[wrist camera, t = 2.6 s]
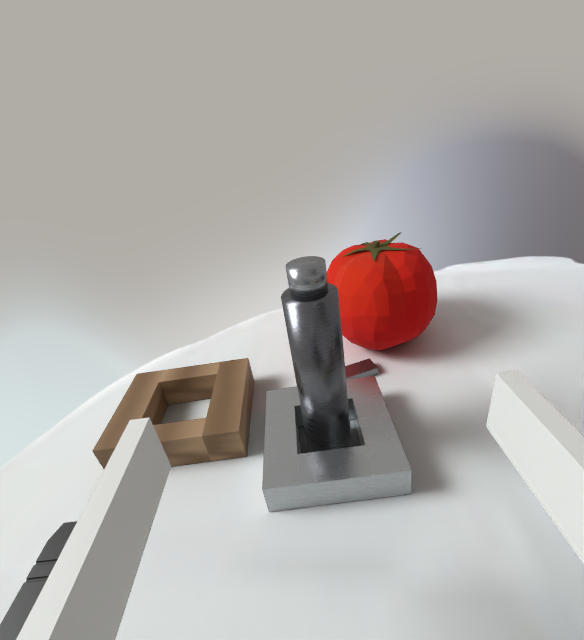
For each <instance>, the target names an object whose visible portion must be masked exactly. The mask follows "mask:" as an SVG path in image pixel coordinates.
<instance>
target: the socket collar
mask: <svg viewBox="0 0 584 640" xmlns="http://www.w3.org/2000/svg"><path fill="white" fill-rule="evenodd" d="M346 385H347V396H348V407H349V418H350V420H353V419H354V421H355V425H356V428H357V432H358V436H359V440H360V443H361V446H355V447H348V448H340V449H332V450H325V451H317V452H310V453H302V454H300V443H299V428H298V427H301V426H304V422H303V416H302V410H301V405H300V399H299V394H298V388H297V387H290V388H283V389H275V390H268V391H266V415H265V439H264V463H263V486H262V490H263V494H264V497H265V500H266V504H267V507H268V510H269V512H272V511H280V510H288V509H296V508H304V507H312V506H320V505H328V504H336V503H344V502H352V501H360V500H368V499H376V498H384V497H391V496H399V495H407V494H411V481H412V470H411V467H410V465H409V462H408V460H407V457H406V454H405V452H404V449H403V447H402V444H401V442H400V439H399V437H398V434H397V432H396V429H395V427H394V424H393V422H392V419H391V416H390V414H389V411H388V409H387V406H386V404H385V401H384V399H383V396H382V394H381V391H380V389H379V386H378V383H377V381H376V378H375V376H369V377H362V378H354V379H347V380H346Z"/></svg>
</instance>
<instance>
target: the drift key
mask: <svg viewBox="0 0 584 640" xmlns="http://www.w3.org/2000/svg"><path fill="white" fill-rule="evenodd" d="M345 373H346V380H347V379H354V378H362V377H369V376H374V375H377V374H378V367H377V366H376V365H375V364H374V363H373V362H372V361H371V360H370V359H367V360H363V361H360V362H357V363H354V364H351V365H348V366H345Z"/></svg>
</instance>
